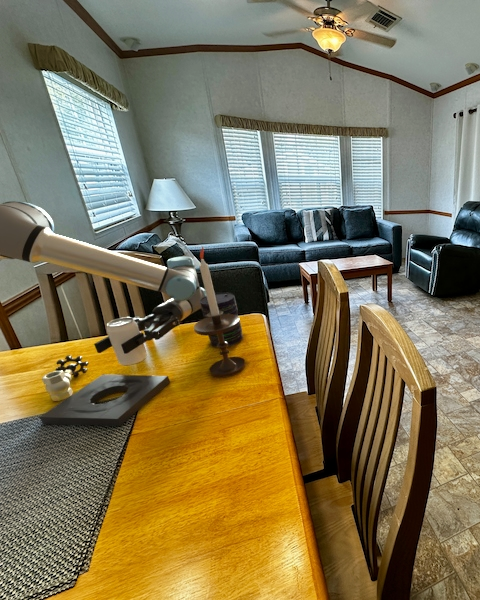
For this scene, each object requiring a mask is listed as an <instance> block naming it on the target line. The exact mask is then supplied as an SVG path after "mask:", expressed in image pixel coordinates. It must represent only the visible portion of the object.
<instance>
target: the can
mask: <svg viewBox="0 0 480 600" xmlns="http://www.w3.org/2000/svg"><path fill="white" fill-rule="evenodd" d="M133 318H134V317H130V316H125V317H120V318H115V319H112V320H110V321H109V322H107V323H106V326H107V327H106V333H107V337H108V336H109V338H110V341H111V344H112V349H113V351H114V354H115V357H116V360H117V362H118V364H119V365H121V366H124V367H125V366H126V367H127V366H128V367H129V366H134V365H137V364H140V363H142V362H143V361H145V360H146V359H147V358H148V352H147V349H146V345H145V343H143V344H141V345H140V346H138V347H137V348H135V349H133V350H132V351H130V352H129V353H127V354H124V351H123V349H122V346H121V344H123V343H124V342H126V341H128V340H129V339H131V338H133V337H134V336H136V335H138V334H139V333H141V331H139V328H138V325H137V323H136V322H135V321H134V320H133Z"/></svg>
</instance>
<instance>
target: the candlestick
mask: <svg viewBox="0 0 480 600" xmlns="http://www.w3.org/2000/svg"><path fill="white" fill-rule="evenodd" d="M204 250H205V249H204V246H201V249H200V253H199V258H200V264H198V265H199V270H200V274H201V279H202V282H203V288H204V289H205V291H206V295H207V299H208V303H209V307H210V311H211V312H210V313H208V314H207V316H208V317H207V318H202V319H201V320H199V321H197V322H196V323H195V324H194V326H193V329H194V332H195V334H196V335H199V336H208V335H218V339H219V343H218V344H217V347H216V348H218V350H220V352H219V356H222V358H221V359H219V360H217V361H215V362H214V363H212V365H210V367H209V373H210V376H212V377H214V378H227V377H231V376H234V375H237V374H238V373H240V372H241V371H242V370H244V369H245V367H246V360H245V359H244V358H243V357H241V356H229V354H230V350H229V349H228V347H229V346H228V342H225V341H224V336H223V333H225V332H228V331H230V330H233V329H234V328H236V327H237V326H238V325H239V324H240V323H241V320H240V319H241V318H240V317H239V315H238V316H237V315H233V314H223V313H224V312H223V311H219V310H218V306H217V302H216V297H215V294H216V292H215V290H214V285H213V281H212V280H213V279H212V277H211V272H210V268H209V264H208V263H206V261H205V259H204Z"/></svg>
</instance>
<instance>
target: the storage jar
mask: <svg viewBox="0 0 480 600" xmlns="http://www.w3.org/2000/svg"><path fill="white" fill-rule="evenodd" d="M215 297H216V302H217V306H218V310H219V311H223V312H224V313H223V314H233V315H237V316H238V317H239V315H238V305H237V301H236V297H235V294H233V292H232V293H231V292H215ZM200 303H201V307H202V308H201V312H202V316H203V319H205V318H207V317H208V316H207V314H208V313H210V312H211V311H210V307H209V303H208V299H207V296H205V297H203V298H202V299H201V300H200ZM241 324H242V323H241V322H240V324H239V325H238V326H237V327H236V328H234V329H233V330H230V331H228V332H225V333H223V336H224V341H225V342H228V347H231V346H235V345H236V344H238V343H240V342H241V341H242V340H243V339H244V335H243V329H242V325H241ZM207 337H208V339H209V341H210V342H209V343H210V345H211V346H212V347H214V348H218V347H217V344H218V343H219V339H218V335H207Z"/></svg>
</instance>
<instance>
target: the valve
mask: <svg viewBox="0 0 480 600" xmlns="http://www.w3.org/2000/svg"><path fill="white" fill-rule="evenodd" d="M82 360H83V356H81V355H78V356H77V357H76V358H73V356H72V355H71V354H68V355H66V356H65V357H64V360H63V359H58V360H57V361H56V365H57V367H55V369H54V371H51V372H48V373H46V374H44V375H43V376H42V378H41V380H42V382H43V384H44V385H45V386H44V387H45V391H46V392H47V393H48V394H50V396H49V397H50V399H51V400H52V401H53V402H60V401H61V402H62V401H64V400H65V399H67V398H68V397H70V396H71V395H73V394H74V391H73V388H72V386H71V381H72V380H73V379H72V378H75V379H76V378H79V376H80V373H82V374H86V373H87V372H88V368H86V367H88V366H89V364H90V363H89V361H82ZM70 362H73V363H70ZM67 363H70V364H68V365H66V364H67ZM59 365H60V366H59ZM65 365H66V366H65ZM79 366H80V367H79ZM78 367H79V369H78V370H77V368H78Z"/></svg>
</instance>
